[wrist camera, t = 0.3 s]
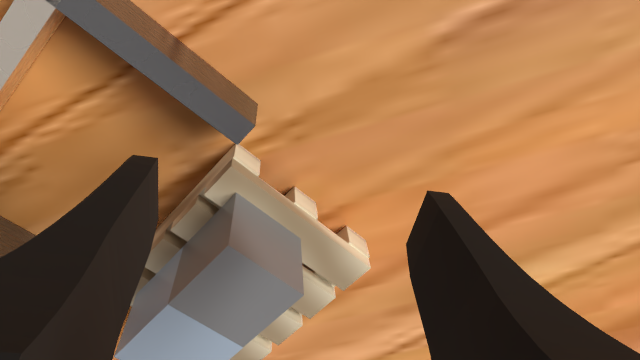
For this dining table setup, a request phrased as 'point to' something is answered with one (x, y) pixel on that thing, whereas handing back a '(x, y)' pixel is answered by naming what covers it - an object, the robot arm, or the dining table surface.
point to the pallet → (290, 211)
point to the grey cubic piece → (239, 272)
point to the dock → (134, 47)
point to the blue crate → (168, 327)
